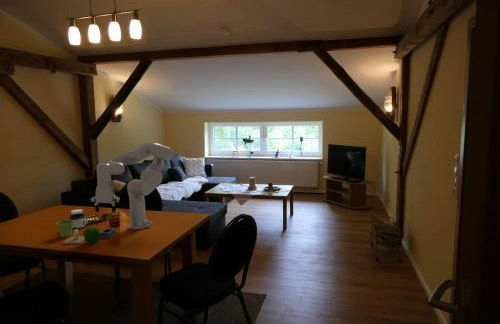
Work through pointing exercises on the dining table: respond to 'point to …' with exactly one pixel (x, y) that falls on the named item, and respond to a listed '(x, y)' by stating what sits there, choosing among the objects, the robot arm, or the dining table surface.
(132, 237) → the dining table surface
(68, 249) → the dining table surface
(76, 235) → the keeper
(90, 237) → the bell pepper
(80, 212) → the spread jar
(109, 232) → the dark grey rectangular frame
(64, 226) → the plant pot
